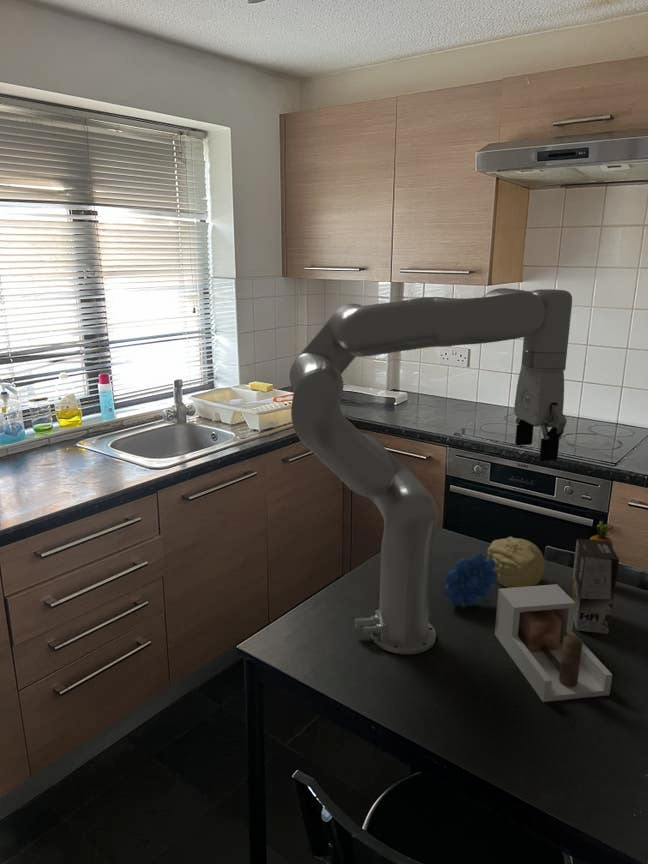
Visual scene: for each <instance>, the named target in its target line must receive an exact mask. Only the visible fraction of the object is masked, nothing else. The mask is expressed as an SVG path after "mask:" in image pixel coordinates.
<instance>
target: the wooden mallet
mask: <svg viewBox="0 0 648 864" xmlns="http://www.w3.org/2000/svg"><path fill="white" fill-rule="evenodd" d="M561 622H562V620H561V619H560V618H559V617H558V616H557V615H556V614H555V613H554V612H553V611H552V610H540V611H528V612H520V618H519V628H518V637H519V638H520V640H521V641H522V642H523V644H524V645H525V646H526V648H527V649H528V650H529V651H530V652H531V651H542V650H543V652H544V653H545V654H546V655H547V657H548V658H549V659H550V660H551V662H552V663H553V664H554V665H555V667H556V668H557V669H558V670H559V671H560V674H559V681H560V682H561V683H562V684H563V685H565V686H569V687H573V686H576V685H577V683H578V675H579V667H580V659H581V651H582V643H584V642H583V640H582V639H581V637H578V636H577V635H576V636H573V635H567V636H565V637H564V640H563V648H562V657H561V664H560V663H559V661H558V660H557V659H556V658H555V656H554V655H553V654H552V653H551V652H550V650H553V649H558V648H559V640H560V631H561Z"/></svg>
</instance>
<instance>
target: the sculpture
mask: <svg viewBox="0 0 648 864" xmlns="http://www.w3.org/2000/svg"><path fill="white" fill-rule="evenodd" d="M489 558H490V559H493V560H494V561H495V568H494V569H493V571H496V572H497V575H498V579H497V581H496V582H498V583H499V584H501V585H502V586H503V587H505V588H514V587H527V586H538V584H539V583H540V581H542V578H543V577H544V574H545V571H546V569H545V568H546V561H545V556H544V555H543V553H542V551H541V550H540V548H539V547H538V546H537V545H536V544H534V542H531V541H529V540H527V539H523V538H517V537H513V536H508V537H506V538H499V539H495V540H493V541H492V542H491V544H490V546H488V548H487V557H486V559H489Z"/></svg>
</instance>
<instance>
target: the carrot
mask: <svg viewBox="0 0 648 864" xmlns="http://www.w3.org/2000/svg"><path fill="white" fill-rule="evenodd" d="M598 523H599V524H597V525H596V530H597V534H596V535H593V536H591V537H590V538H589V540H604V541H609V543H610V544H611V546H612V548H613V549H614V545H613V541H612V540H611V538H610V537H609V536H608V535H609V534H608V532H609V531H610V530H612V529H614V526H613V525H611V526H609V525H608V524H607V523H606V524H604V521H603V520H600V521H599V522H598Z"/></svg>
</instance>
